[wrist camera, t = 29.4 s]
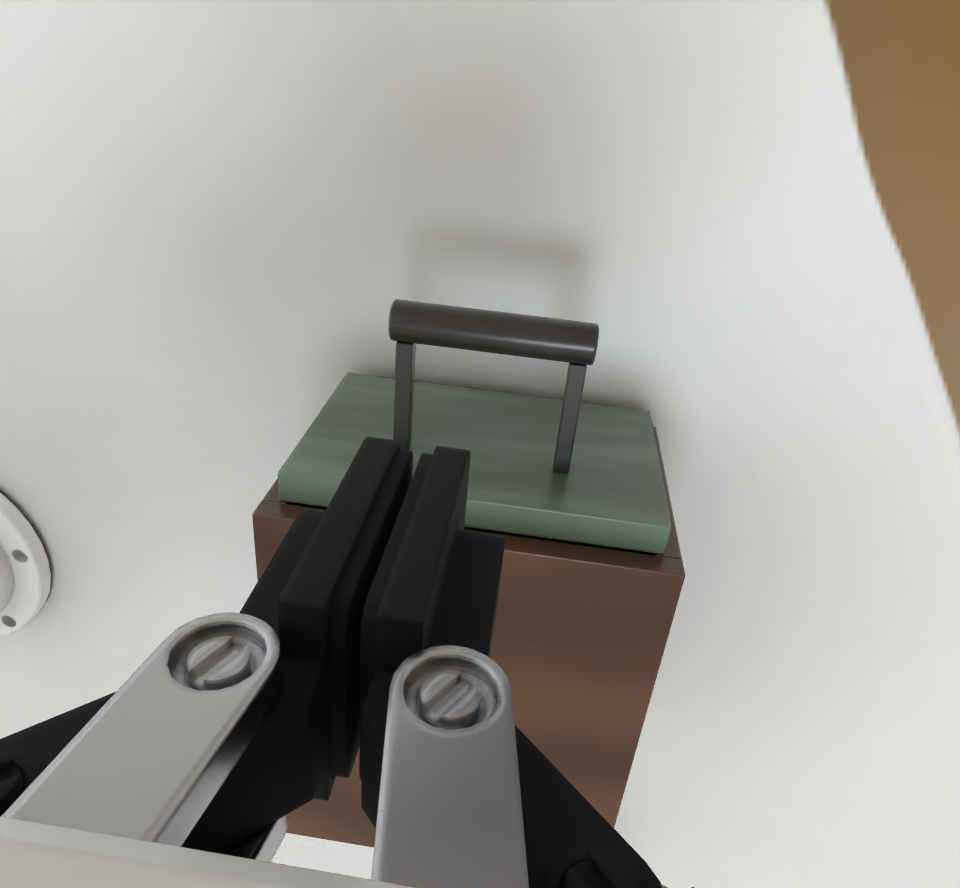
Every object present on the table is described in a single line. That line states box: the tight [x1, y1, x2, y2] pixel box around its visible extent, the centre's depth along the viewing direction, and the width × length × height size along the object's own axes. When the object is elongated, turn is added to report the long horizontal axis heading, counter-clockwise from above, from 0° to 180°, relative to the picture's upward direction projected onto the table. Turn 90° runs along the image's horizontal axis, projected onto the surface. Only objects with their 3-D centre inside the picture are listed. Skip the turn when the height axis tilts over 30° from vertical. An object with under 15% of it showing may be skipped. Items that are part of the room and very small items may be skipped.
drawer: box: [278, 299, 671, 554], centre depth 32 cm, size 22×14×9 cm, turn 175°
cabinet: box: [253, 427, 685, 847], centre depth 34 cm, size 18×15×11 cm
